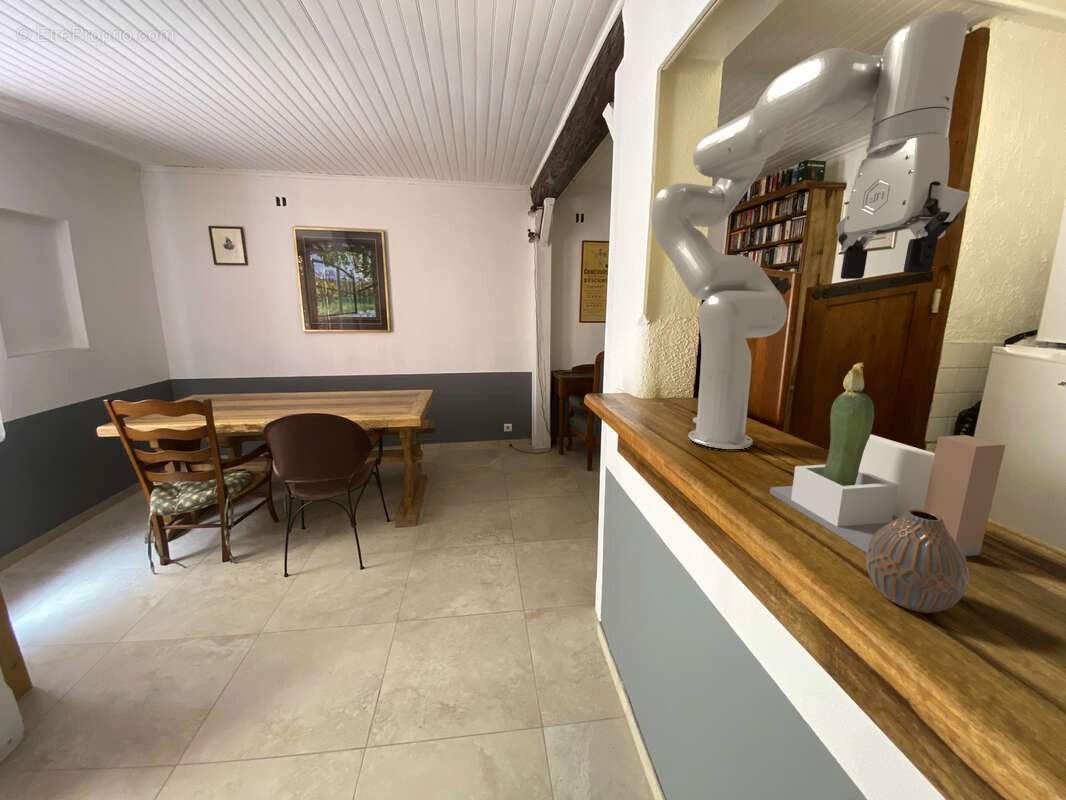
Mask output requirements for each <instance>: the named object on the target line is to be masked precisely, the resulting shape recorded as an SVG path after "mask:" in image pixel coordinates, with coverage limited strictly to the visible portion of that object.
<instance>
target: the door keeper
mask: <svg viewBox="0 0 1066 800" xmlns="http://www.w3.org/2000/svg"><path fill="white" fill-rule="evenodd" d="M1006 446H1007V445H1006V444H1004V443H1001V442H1000V443H999V442H996V441H991V440H988V439H983V438H980V437H975V436H971V435H966V434H961V435H945V436H937V441H936V445H935V450H934V452H931V451H928V450H925V449H921V448H919V447H918V448H917V447H914V446H912V445H908V444H905V443H901V442H897V441H894V440H891V439H889V438H888V439H887V438H884V437H881V436H878V435H874V434H872V433H871V434H870V437H869V440H868V442H867V444H866V447H865V449H864V452H863V456H862V459H861V463H860V466H859V472H858V476H857V480H856V483H855V485H851V486H842V485H840V484H838V483H835V482H833V481H831V480H829V479H827V478H825V477H823V472H824V468H825V465H826V464H814V465H798V466H795V467H794V472H793V473H794V474H793V483H792V485H786V486H771V487H770V488H769V489H770V490H769V494H770V495H771V496H773V497H775V498H776V499H778V500H780V501H781V502H783V503H784V504H787V505H788V506H789V507H791V508H793V509H794V510H796V511H798V512H799V513H801V514H802V515H804V516H806V517H808V518H809V519H811V520H812V521H813V522H816V523H817V524H819V525H821V526H822V527H824V528H826V529H827V530H828V531H831V532H832V533H834V534H835V535H837V536H838V537H840V538H842V539H843V540H845V541H846V542H849V544H851V545H853V546H854V547H856V548H858V549H859V550H861V551H862V552H865V554H867V549H868V545H869V543H870V541H871V539H872V537H873V536H874V534H875V533H876V532H877V531H878V530H879V529H880V528H882V527H883V526H885V525H887V524H888V523H890V522H892V521H894V520H896V519H898V518H900V517H901V516H902V515H903V514H904V513H905V512H906V511H907V510H909V509H919V510H925V511H928V512H931V513H934V514H936V515H938V516H940V517H941V518H942V519H943V522H944V524H945V527H946V529H947V531H948V532H949V533H950V535H951V536H952V537H953V538H954V540H955V541H956V542H957V544H958V545H959V546H960V548H961V549H962V551H963V553H964V555H965V557H972V556H980V555H981V551H982V546H983V543H984V538H985V534H986V529H987V526H988V521H989V517H990V514H991V513H990V512H991V509H992V503H993V500H994V497H995V492H996V487H997V484H998V483H997V482H998V479H999V474H1000V470H1001V466H1002V462H1003V458H1004V457H1003V456H1004V453H1005V449H1006Z"/></svg>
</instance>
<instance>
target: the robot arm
mask: <svg viewBox="0 0 1066 800" xmlns="http://www.w3.org/2000/svg"><path fill="white" fill-rule="evenodd" d="M967 29H968V21H967V18H966V15H965V14H963V12H961V11H958V10H952V9H951V10H941V11H937V12H933V13H930V14H927V15H923V16H921V17H919V18H917V19H915V20H912V21H910V22H909V23H908V24H906V25H904V26H902V27H901V28H900V29H898V30H897V31H896V32H895V33H894V34H893V35H892V36H891V37H890V39H888V41H887V43H886V45H885V46H884V49H883V52H882V54H879V55H878V54H875V55H874V54H873V55H872V54H868V53H865V52H862V51H859V50H855V49H852V48H851V49H850V48H845V47H833V48H828V49H825V50H822V51H820V52H817V53H815V54H813V55H811V56H809V57H807V58H805V59H804V60H802V61H800V62H799V63H796V64H795V65H793V66H792V67H790V68H788V69H787V70H785V71H784V72H782V73H781V74H779V75H778V76H777V77H776V78H774V79H773V80H772V81H771V82H770V84H769V85H768V86H767V88H766V89H765V90H764V92H763V93H762V94H761V95H760V97H759V99H758V100H757V102H756V105H755V107H754V108H752V109H750V110H748V111H747V112H745V113H743V114H741V115H739V116H737V117H736V118H734V119H732V120H729V121H728V122H726V123H724V124H722V125H720V126H719V127H717V128H715V129H713V130H711V131H710V132H708V133H707V134H706V135H704V136H703V137H702V138H701V139H700V140H699V141H698V143H697V144H696V146H695V148H694V150H693V155H692V160H693V165H694V168H695V170H697V172H699V173H700V175H703V176H705V177H707V178H711V179H718V180H717V182H716V183H715V184H714V185H713V186H712V185H705V184H694V183H688V182H687V183H685V182H684V183H681V182H680V183H673V184H670V185H668V186H665V187H663V188H662V189H661V190H659V192H658V193H656V196H655V197H654V199H653V202H652V207H651V214H650V215H651V226H652V232H653V235H654V237H655V239H656V241H657V243H658V245H659V246H660V247H661V249H662V250H663V251H664V253H665V254H666V255H667V257H668V258H669V260H670V261H671V263H672V265H673V266H674V268H675V270H676V272H677V273H678V275H679V277H680V279H681V280H682V282H683V284H684V285H685V287H686V289H687V291H688V293H690V294H691V296H692V297H693V298H695V299H697V300H702V301H703V300H704V301H703V303H702V304H701V306H700V308H699V312H698V325H699V333H700V344H701V346H700V350H701V352H700V354H701V355H700V357H701V358H700V371H699V373H700V374H699V389H698V401H697V415H696V417H693V418H692V422H693V424H696V425H695V430H694V429H693V430H691V431H690V432H688V435H687V436H688V437H689V438H690V439H691V440H692V441H694V442H696V443H699V444H702V445H705V446H709V447H715V448H722V449H743V450H745V449H744V448H747V449H749V448H748V447H750V446H751V445H752V446H753V442H754V441H753V439H752V437H750V436H748V435H747V434H746V428H747V418H748V417H747V415H748V406H749V394H750V385H751V374H752V362H753V361H752V354H751V350H750V347H749V345H748V341H747V339H754V338H765V337H766V338H767V337H770V336H773V335H775V334H776V333H778V332H779V331H781V329H782V328H783V327H784V325H785V323H786V321H787V318H788V308H787V305H786V302H785V299H784V298H783V296H782V294H781V293H780V292H779V290H778V288H777V287H776V286H775V284H773V282H772V280H771V279H770V278H769V276H768V274H766V272H765V271H764V269H763V268H762V267H761V266H760V264H758V263H757V262H756V261H755V260H753V259H752V258H750V257H748V256H745V255H735V254H724V253H720V252H719V251H717V250H716V249H715V247H713V245H712V244H711V242H710V240H709V239H708V238H707V237H706V235H705V234H704V233H703V232H702V231H700V230H699V229H698V228H696V227H700V228H702V227H703V228H713V227H715V226H719V225H720V224H721V223H723V222H724V221H725V220H726V219H727V218H728V217H729V216H730V215H731V213H733V211H734V209H735V208H736V206H737V205H738V204H739V203H740V201H741V200H742V198H743V197H744V196H745V194H746V193H747V192H748V190H749V189H750V187H751V186H752V185H753V184H754V182H755V181H756V180H757V178H758V176H759V175H760V173H761V172H762V170H763V168H764V166H765V164H766V162H767V159H768V158H770V157H773V156H774V155H775V154H777V152H778V151H780V149H781V148H782V146H783V144H784V142H785V139H786V136H787V132H788V131H787V130H788V128H787V126H788V125H790V124H793V123H795V122H797V121H800V120H803V119H805V118H817V119H821V120H826V121H831V122H834V123H841V124H846V125H852V126H857V125H863V124H866V123H869V122H871V128H870V132H869V138H868V139H869V140H868V144H867V147H866V158H864V159H862V160H861V163H860V165H859V167H858V170H857V173H856V176H855V178H854V182H853V185H852V189H851V193H850V196H849V201H848V205H847V210H846V215H845V217H844V218H843V219H841V221H839V222H838V223H837V224H836V226H835V229H836V233H837V237H838V238H837V241H838V243H839V244H840V245H841V248H840V250H841V251H842V252H843V257H842V263H841V272H840V279H842V280H857V279H858V280H862V279H863V278H864V276H865V272H866V271H865V270H866V266H867V265H866V264H867V259H868V258H867V257H868V251H869V250H866V249H865V248H867V246H868V244H869V243H870V242H871V241H872V239H873V238H874V237H875V236H879V235H884V234H891V233H895V232H899V231H905V230H910V232H912V234H913V236H914V238H912V239H909V241H908V244H907V250H906V254H905V260H904V266H903V272H904V273H906V274H925V273H930V272H931V271H932V270H933V264H934V260H935V259H934V258H935V254H936V250H937V249H936V248H937V244H938V241H939V240H938V239H942V238H943V237H944V236H945V235H946V232H947V231H946V230H948V228H949V227H950V226H951V225H952V224H953V223H955V222H956V221H957V219H958V216H959V213H960V212H961V211H962V209H963V208H964V207H965V205H966V203H967V202H968V200H969V199H970V197H971V194H970V192H968V191H965V190H961V189H957V188H953V187H950V186H948V183H949V182H948V181H949V175H950V173H949V172H950V140H949V139H950V137H948V136H947V131H948V127H949V122H950V116H951V111H952V107H953V105H952V104H953V100H954V97H955V89H956V85H957V80H958V76H959V70H960V65H961V60H962V55H963V51H964V45H965V39H966V35H967ZM859 238H860V239H859ZM864 249H865V250H864ZM688 437H687V438H688ZM752 446H751V447H752ZM751 447H750V448H751Z"/></svg>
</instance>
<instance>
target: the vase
mask: <svg viewBox="0 0 1066 800" xmlns="http://www.w3.org/2000/svg"><path fill="white" fill-rule="evenodd" d="M865 556H866V557H865V560H866V561H865V563H866V569H867V572H868V576H869V578H870V580H871V582H872V584H873V585H874V586H875V588H876V589H877V590H878V592H880V593H881V594H882V595H883V596H884V598H886V599H887V600H889V601H890V602H892V603H894V604H896V605H897V606H900V607H901V608H904V609H906V610H910V611H913V612H916V613H917V612H918V613H923V614H931V613H932V614H933V613H938V612H943V611H946V610H948V609H950V608H951V609H952V607H953V606H955V605H956V604H958V603H959V601H960V600H961V599H962V598H963V596H964V595H965V593H966V590H967V587H968V584H969V577H970V575H969V574H970V572H969V564H968V561H967V556H965V555H964V553H963V551H962V549H961V548H960V546H959V545H958V544H957V542H956V541H955V540H954V538H953V537H952V536H951V535H950V533H949V532H948V531H947V529H946V527H945V524H944V522H943V519H942V518H941V517H940V516H938V515H936V514H934V513H931V512H928V511H925V510H919V509H909V510H907V511H906V512H905V513H904V514H903V515H902V516H901V517H900V518H898V519H896V520H894V521H892V522H890V523H888V524H887V525H885V526H883V527H882V528H880V529H879V530H878V531H877V532H876V533H875V534H874V536H873V537H872V539H871V541H870V543H869V545H868V549H867V553H866V554H865Z"/></svg>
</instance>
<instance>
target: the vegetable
mask: <svg viewBox="0 0 1066 800" xmlns="http://www.w3.org/2000/svg"><path fill="white" fill-rule="evenodd" d="M864 366H865V365H864V362H858V363H856V364H854V365H853V366H852V368H851V369H850V370H848V373H847V374H846V376H845V377H844V378H843V382H842V383H843V385H842V386H843V388H844V390H845V392H842V393H841V394H839V395H838V396H837V397H836V398H835V399H834V401H833V403H832V405H831V409H830V417H829V420H830V422H829V423H830V424H829V427H830V440H829V441H830V442H829V443H830V444H829V448H828V449H829V450H828V455H827V458H826V459H827V460H826V462H825V464H824V465H825V468H824V472H823V477H825V478H827V479H829V480H831V481H833V482H835V483H838V484H840V485H842V486H851V485H855V483H856V480H857V476H858V472H859V466H860V463H861V459H862V456H863V452H864V449H865V447H866V444H867V442H868V440H869V437H870V434H872V430H873V425H874V419H875V406H874V403H873V400H872V399H871V398H870V396H868V394H867V393H865V392H862V391H863V390H864V388H865V380H864V374H863V373H864V371H863V368H864ZM862 367H863V368H862Z"/></svg>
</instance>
